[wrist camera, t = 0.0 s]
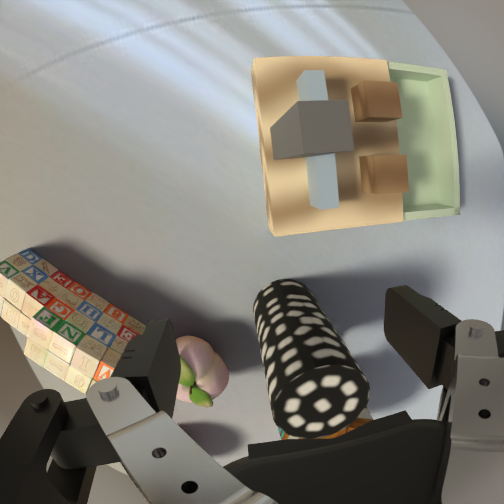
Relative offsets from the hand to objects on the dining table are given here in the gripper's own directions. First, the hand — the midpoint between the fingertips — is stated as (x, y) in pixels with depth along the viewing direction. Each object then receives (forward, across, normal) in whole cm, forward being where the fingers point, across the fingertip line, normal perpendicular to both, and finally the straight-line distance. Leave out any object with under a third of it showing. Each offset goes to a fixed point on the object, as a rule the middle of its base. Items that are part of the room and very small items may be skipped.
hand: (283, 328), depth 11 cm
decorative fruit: (+30, +9, +18) cm, 36 cm away
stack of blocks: (+30, +25, +9) cm, 40 cm away
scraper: (+24, -6, -8) cm, 26 cm away
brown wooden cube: (+24, -15, -4) cm, 29 cm away
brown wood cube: (+24, -15, -12) cm, 31 cm away
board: (+29, -11, -8) cm, 32 cm away
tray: (+29, -24, -8) cm, 39 cm away
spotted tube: (+30, -4, +13) cm, 32 cm away
